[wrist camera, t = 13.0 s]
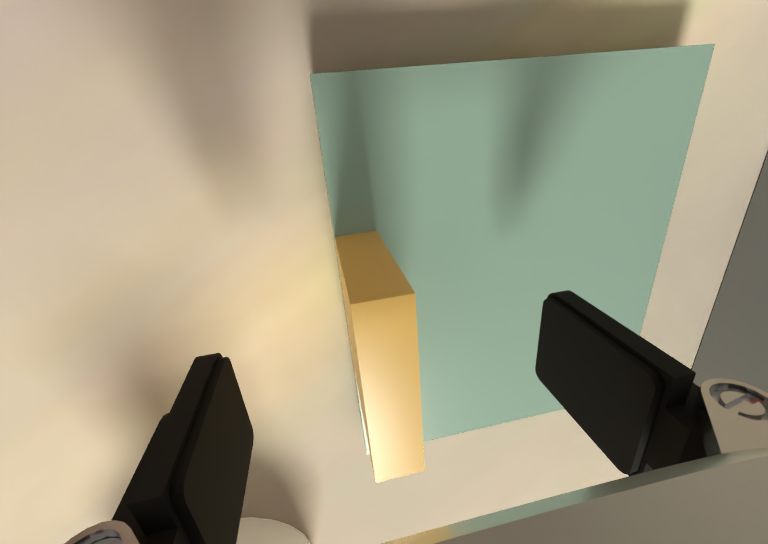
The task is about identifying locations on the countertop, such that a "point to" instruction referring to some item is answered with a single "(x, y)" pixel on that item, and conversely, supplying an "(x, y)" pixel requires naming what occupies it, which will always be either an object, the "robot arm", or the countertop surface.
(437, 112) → the door
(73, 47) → the countertop surface
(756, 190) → the tub
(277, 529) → the cylinder with rectangular tab
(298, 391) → the countertop surface
